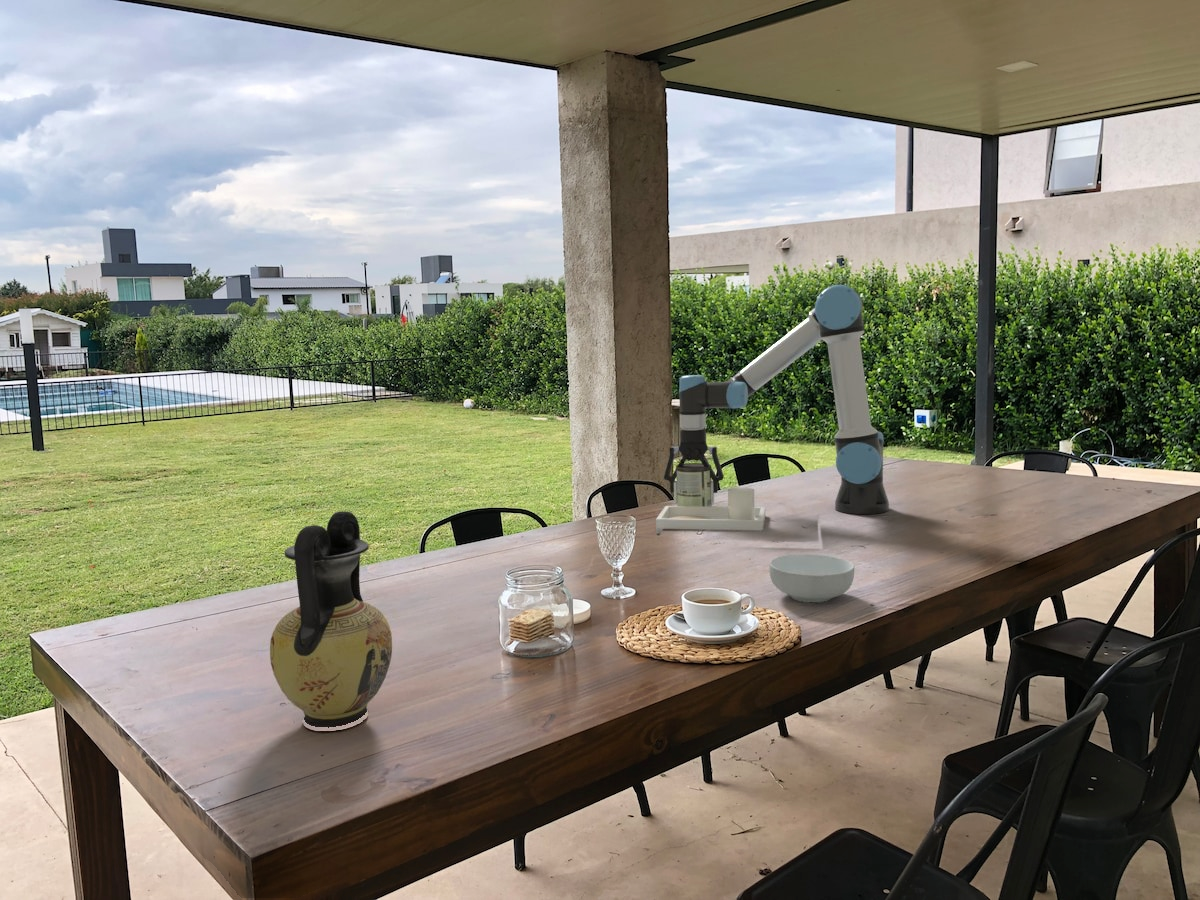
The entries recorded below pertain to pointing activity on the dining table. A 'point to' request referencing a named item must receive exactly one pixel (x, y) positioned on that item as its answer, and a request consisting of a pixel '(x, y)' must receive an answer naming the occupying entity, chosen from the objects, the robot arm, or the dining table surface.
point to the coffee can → (693, 485)
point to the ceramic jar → (741, 503)
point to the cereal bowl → (811, 576)
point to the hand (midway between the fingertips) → (694, 503)
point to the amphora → (330, 629)
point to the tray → (705, 519)
